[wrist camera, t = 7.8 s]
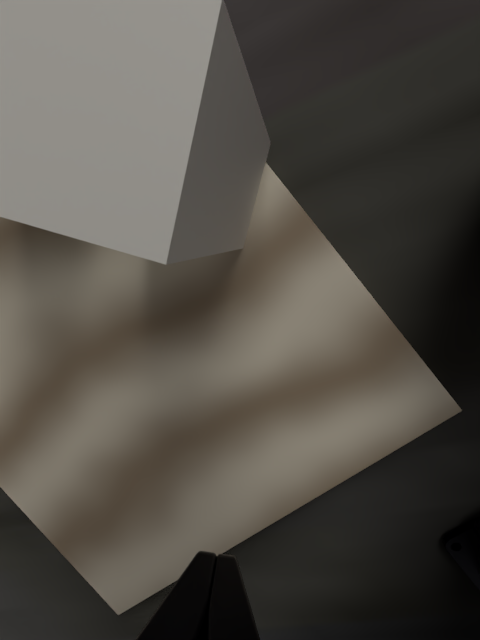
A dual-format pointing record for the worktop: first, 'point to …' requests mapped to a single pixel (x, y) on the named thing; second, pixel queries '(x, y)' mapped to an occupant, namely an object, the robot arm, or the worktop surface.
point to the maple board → (192, 391)
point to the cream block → (129, 125)
